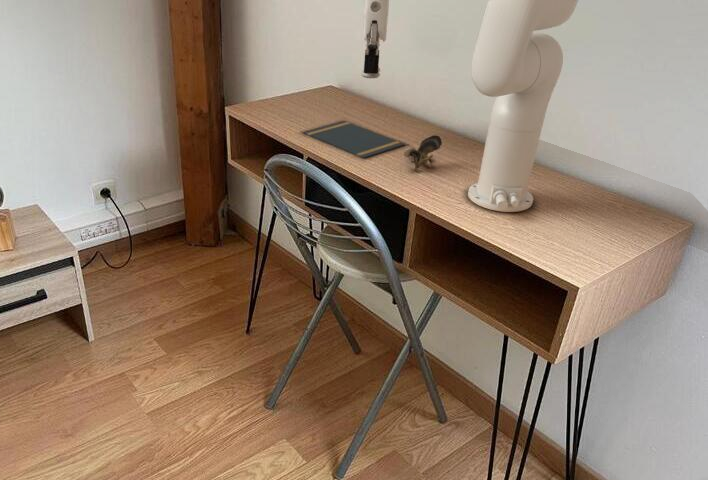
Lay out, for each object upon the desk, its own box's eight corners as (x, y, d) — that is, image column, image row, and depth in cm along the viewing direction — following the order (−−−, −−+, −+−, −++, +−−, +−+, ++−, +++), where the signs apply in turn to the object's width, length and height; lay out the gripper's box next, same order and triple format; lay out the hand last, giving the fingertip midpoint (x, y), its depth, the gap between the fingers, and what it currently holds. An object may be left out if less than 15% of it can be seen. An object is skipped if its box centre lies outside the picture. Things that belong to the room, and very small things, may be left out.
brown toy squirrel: (441, 170, 137) (449, 149, 143) (425, 143, 134) (434, 123, 140) (410, 182, 141) (419, 161, 147) (394, 156, 138) (404, 136, 144)
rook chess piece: (380, 78, 146) (383, 42, 142) (361, 78, 146) (363, 42, 142) (379, 74, 150) (381, 38, 145) (360, 73, 150) (362, 38, 146)
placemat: (404, 145, 153) (404, 143, 152) (364, 158, 145) (364, 157, 145) (343, 121, 166) (343, 120, 166) (303, 133, 158) (303, 131, 158)
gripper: (395, -11, 130) (387, 80, 140) (394, -21, 144) (387, 62, 154) (358, -12, 131) (353, 79, 140) (361, -22, 145) (356, 61, 155)
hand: (371, 69), depth 147 cm, fingers closed on rook chess piece, 4 cm apart
